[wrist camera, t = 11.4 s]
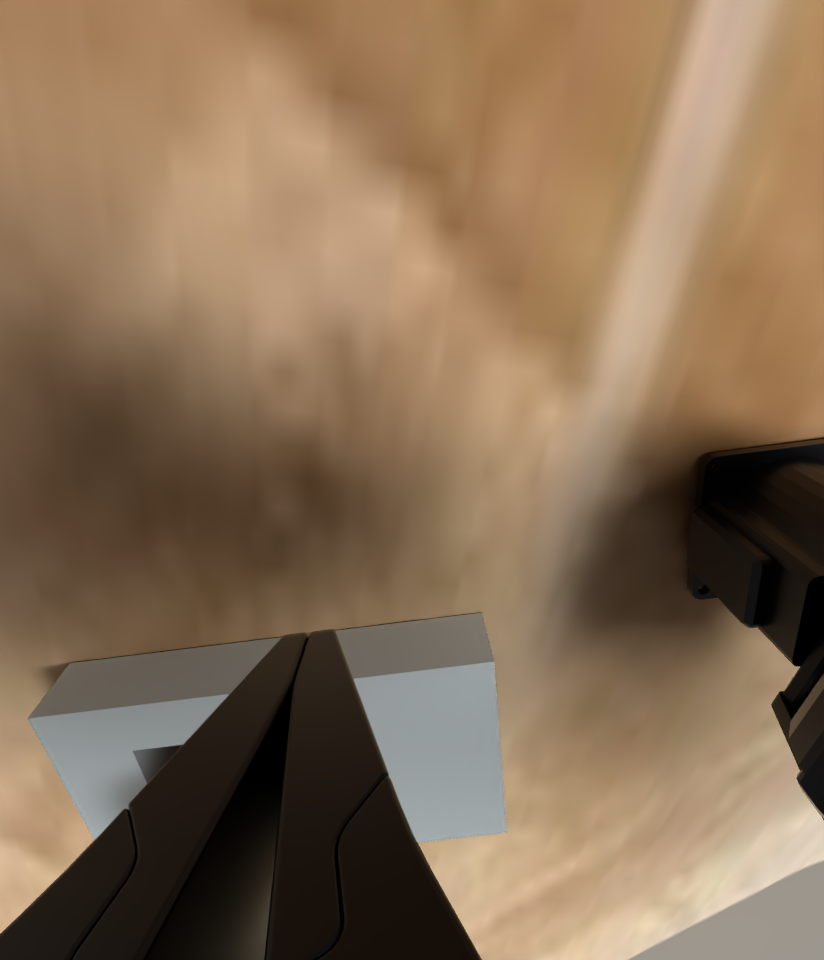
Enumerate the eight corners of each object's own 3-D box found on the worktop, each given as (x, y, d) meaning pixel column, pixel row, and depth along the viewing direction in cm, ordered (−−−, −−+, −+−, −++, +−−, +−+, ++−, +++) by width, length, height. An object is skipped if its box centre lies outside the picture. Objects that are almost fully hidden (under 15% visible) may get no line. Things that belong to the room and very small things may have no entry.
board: (481, 612, 23) (494, 661, 21) (494, 773, 27) (506, 832, 25) (69, 663, 24) (27, 718, 21) (142, 815, 28) (115, 878, 25)
